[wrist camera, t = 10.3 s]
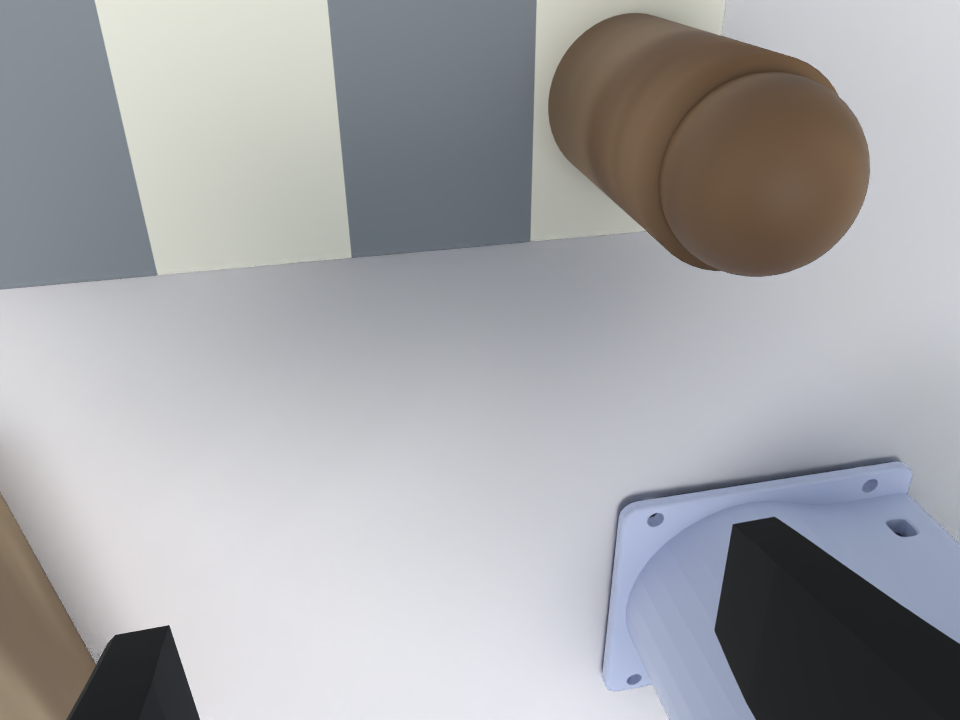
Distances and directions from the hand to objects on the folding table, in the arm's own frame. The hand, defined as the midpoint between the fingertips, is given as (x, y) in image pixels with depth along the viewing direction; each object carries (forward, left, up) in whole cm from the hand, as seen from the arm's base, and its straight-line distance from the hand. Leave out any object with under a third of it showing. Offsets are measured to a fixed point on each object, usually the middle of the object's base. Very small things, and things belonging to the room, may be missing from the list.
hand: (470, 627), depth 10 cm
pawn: (-5, -4, -9) cm, 12 cm away
